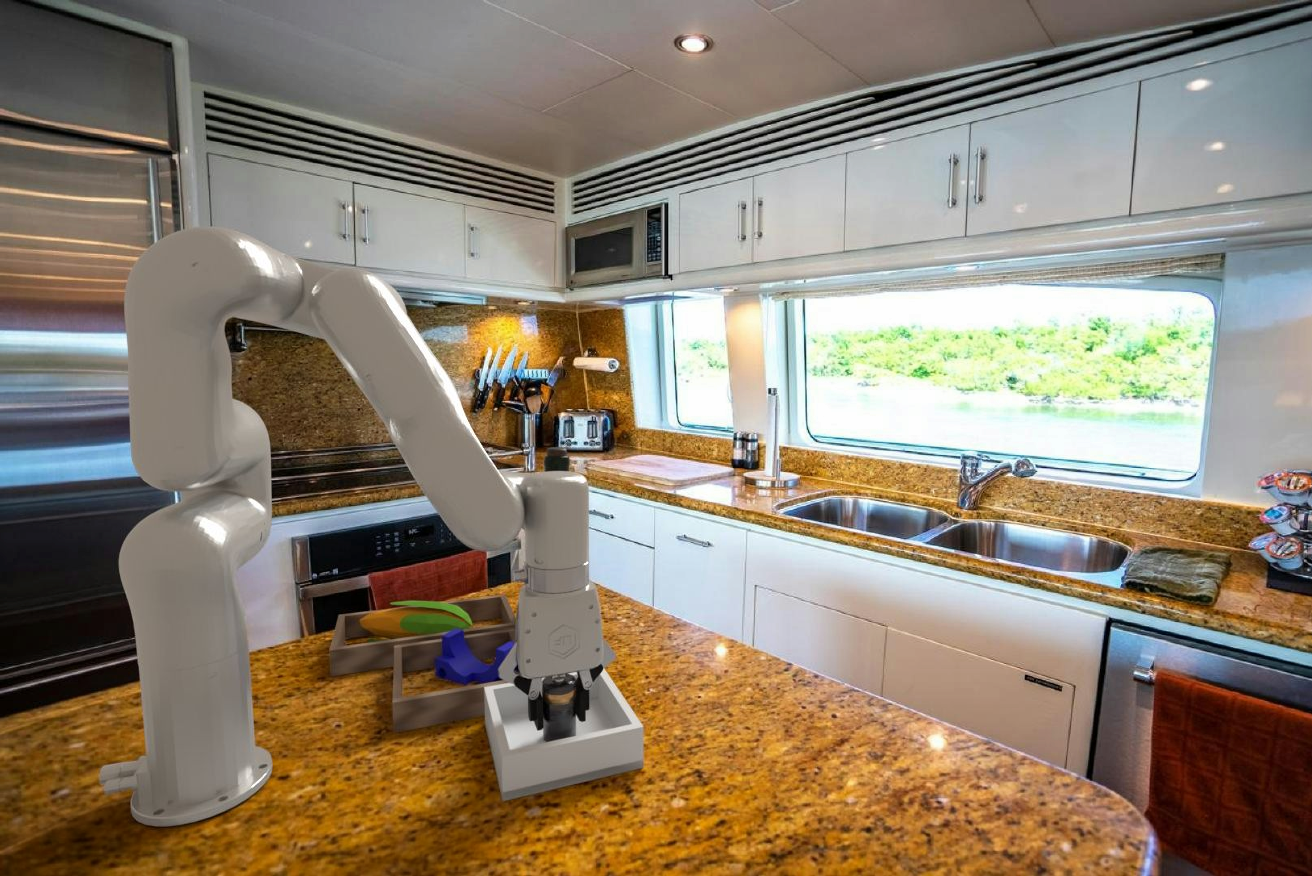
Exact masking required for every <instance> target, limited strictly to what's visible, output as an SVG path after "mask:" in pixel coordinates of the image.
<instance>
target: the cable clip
mask: <svg viewBox="0 0 1312 876" xmlns="http://www.w3.org/2000/svg"><path fill="white" fill-rule="evenodd" d="M514 645H515V642H508V643H506V644H504V645H503V646H501V647H499V648H498V649H496V657H495V658H494V661H493V663H492V664H488V663H485V662H482V660H478V659H477V658H476V657H475V656H474V655H473V654H472V653H471V652H470V650H469V648H468V646H467V644H466V641H465V638H464V631H463V630H461V629H454V630H452V631H450V632H448V633H446V634H444V635H442V655H441V656H439V657H437V658H435V667H434V671H435V672H434V673H435V677H436V678H439V679H443V680H445V681H449V682H453V683H456V684H458V685H463V686H467V685H468V686H469V684H471V683H473V682H475V683H479V684H484V683H490V682H496V681H502V680H503V679H501V678H500V677H499V674H498V668H499V667H500V665H501V664H502V662H503V661H504V659H505V658H506V656H507V655H508V653H509V652H510V651H511V649H512V648H513V646H514ZM514 670H516V671H517V672H518V664H517V665H516V667H515V668H514Z"/></svg>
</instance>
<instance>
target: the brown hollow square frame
mask: <svg viewBox="0 0 1312 876" xmlns="http://www.w3.org/2000/svg"><path fill="white" fill-rule="evenodd" d="M464 638H465V641H466V644H467V646H468V648H469V650H470V652H471V653H472V654H473V655H474V656H475V657H476V658H477V659H478V660H479V661H484V660H490V659H495V657H496V649H498V648H499V647H501V646H503V645H504V644H506V643H508V642H515V629H507V630H500V631H493V632H486V633H479V634H472V635H465V636H464ZM441 655H442V639H436V640H429V641H422V642H415V643H408V644H401V645H394V667H393V675H392V676H393V677H392V678H393V679H392V680H393V681H392V724H393V725H392V726H393V729H392V730H393V734H396V733H401V732H406V731H411V730H417V729H422V728H423V729H424V728H427V727H432V726H438V724H439V725H444V724H449V723H453V721H455V722H459V721H463V720H469V719H474V718H479V717H485V704H484V687H488V686H494V685H500V684H505V683H509V682H507V681H505V680H502V681H496V682H490V683H484V684H482V683H479V684H474V685H468V686H467V685H466V686H461V687H456V688H449V689H443V690H437V691H433V692H426V693H421V694H415V695H408V696H403V673H407V672H414V671H421V670H425V669H431V668H433V669H435V658H437V657H439V656H441ZM518 672H520V671H519V668H518ZM448 722H449V723H448ZM443 723H444V724H443Z"/></svg>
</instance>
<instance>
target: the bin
mask: <svg viewBox="0 0 1312 876" xmlns="http://www.w3.org/2000/svg"><path fill="white" fill-rule="evenodd" d="M568 674H570V675H573V676H574V677H575V679H577V677H578V676H577V672H573V673H568ZM544 678H545V677H544ZM544 678H542V681H543V679H544ZM540 693H541V695H542V682H541V687H540ZM484 704H485V716H484V725H485V729H486V735H487V739H488V742H489V743H488V744H489V747H490V751H491V756H492V760H493V765H494V769H495V774H496V777H497V783H498V788H499V790H500V796H501V799H502V802H506V801H510V800H515V799H517V798H518V799H519V798H523V797H527V796H531V795H535V794H536V795H537V794H539V793H545V792H548V791H552V790H556V789H560V788H564V787H568V786H572V785H576V784H580V783H581V784H582V783H585V782H589V781H594V780H598V779H602V778H606V777H609V776H615V775H618V774H622V773H627V772H632V771H635V770H640V769H643V768H644V738H645V737H644V732H645V731H644V729H645V728H644V725H643V724H642V722H641V721H640V720H639V718H638V716H637V715H636V714H635V712H634V711H633V709H632V707H631V706H630V705H629V703H628V702H627V700H626V699H625V697H624V696H623V694H622V693H621V691H620V689H619V688H618V687H617V686H616V684H615V682H614V681H613V679H612V677H610V675H609V673H608V672H607V670H606V669H605V668H604V669H603V671H602V672H601V674H600V675H599V676H598V677H597V678H596V679H595V681H594V682H593V686H592V688H591V689H589V710H586V721H584V722H581V721H579V719H578V717H577V715H576V736H573V737H569V738H564V739H559V740H555V741H550V742H546V741H545V740H544V739H543V729H542V730H539V731H537V728H536V726H535V723H534V721H530V720H529V716H528V695H526V694H525V693H524V692H522V691H521V690H520V689H518V688H517V687H516V686H515V685H514V684H512V683H505V684H500V685H494V686H488V687H484Z"/></svg>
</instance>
